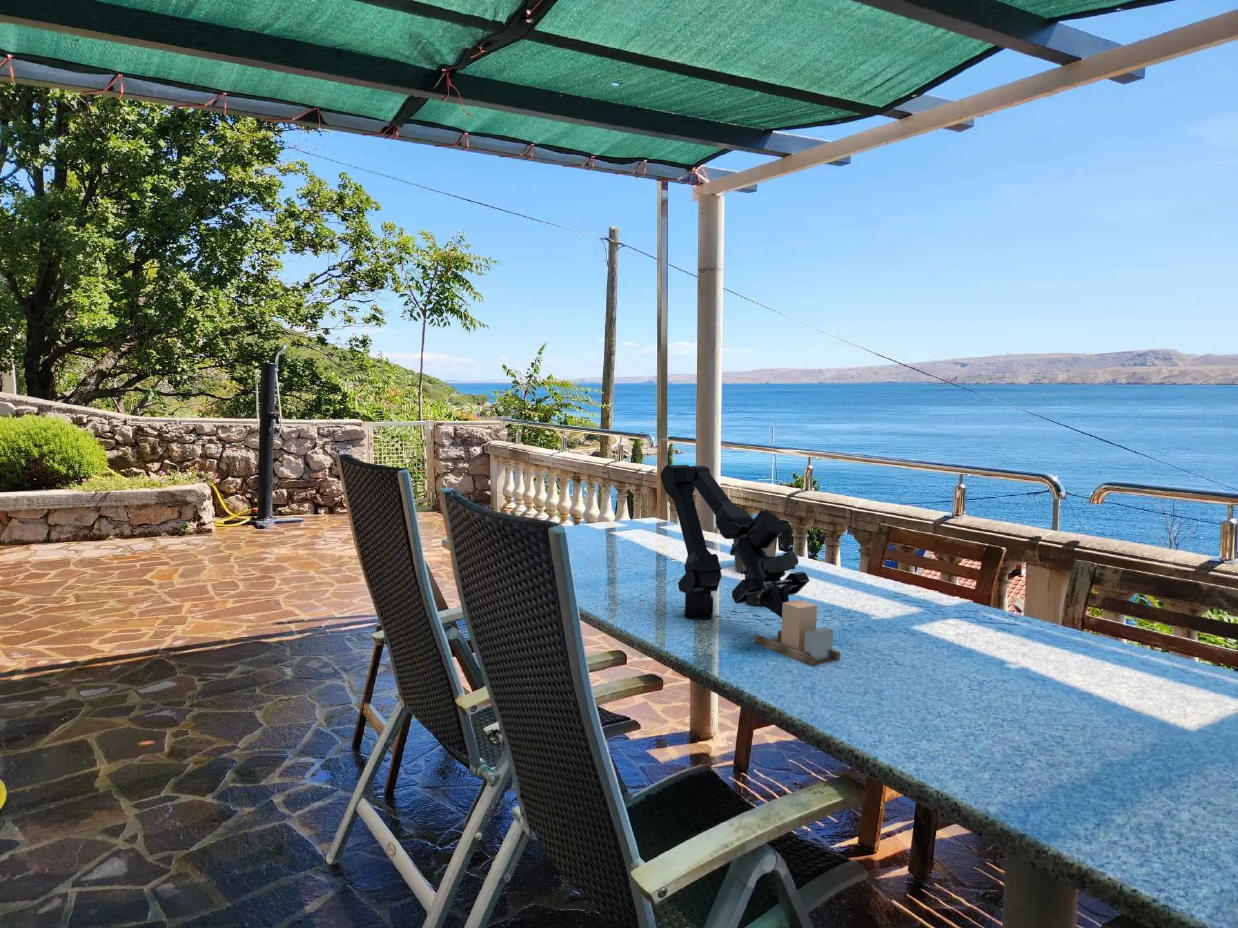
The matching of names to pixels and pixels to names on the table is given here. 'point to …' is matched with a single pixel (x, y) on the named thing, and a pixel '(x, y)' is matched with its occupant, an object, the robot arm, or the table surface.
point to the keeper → (797, 623)
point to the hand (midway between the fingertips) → (789, 620)
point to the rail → (792, 650)
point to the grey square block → (819, 643)
